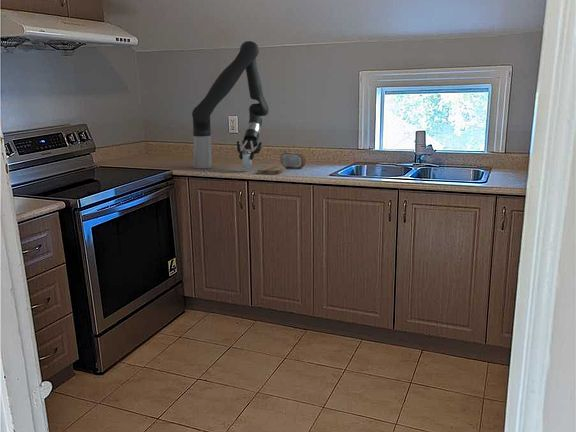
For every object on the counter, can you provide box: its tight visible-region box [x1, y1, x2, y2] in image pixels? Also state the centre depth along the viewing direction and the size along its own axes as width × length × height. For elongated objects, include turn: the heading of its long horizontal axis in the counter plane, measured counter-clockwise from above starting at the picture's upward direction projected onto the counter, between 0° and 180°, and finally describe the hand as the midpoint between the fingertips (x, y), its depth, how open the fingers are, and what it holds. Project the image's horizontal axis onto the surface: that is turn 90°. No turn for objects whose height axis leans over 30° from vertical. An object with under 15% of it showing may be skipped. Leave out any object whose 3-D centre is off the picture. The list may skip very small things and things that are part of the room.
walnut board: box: [257, 165, 286, 175], centre depth 277 cm, size 11×14×2 cm
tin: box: [280, 151, 306, 169], centre depth 291 cm, size 15×3×8 cm, turn 56°
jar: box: [241, 150, 253, 169], centre depth 279 cm, size 5×5×8 cm
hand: (245, 158), depth 277 cm, fingers closed on jar, 4 cm apart
